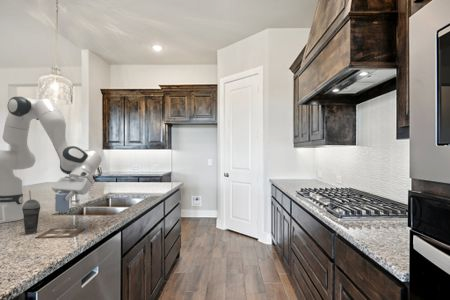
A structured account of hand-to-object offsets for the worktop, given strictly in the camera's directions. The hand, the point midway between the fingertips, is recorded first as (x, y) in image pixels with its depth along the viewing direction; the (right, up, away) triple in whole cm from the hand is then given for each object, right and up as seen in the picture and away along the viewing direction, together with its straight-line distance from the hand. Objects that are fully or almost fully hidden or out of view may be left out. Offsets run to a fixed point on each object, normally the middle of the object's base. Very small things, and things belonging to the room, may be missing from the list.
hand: (61, 199), depth 129 cm
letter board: (0, -16, 0) cm, 16 cm away
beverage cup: (-15, -16, +1) cm, 22 cm away
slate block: (0, -5, +1) cm, 5 cm away
